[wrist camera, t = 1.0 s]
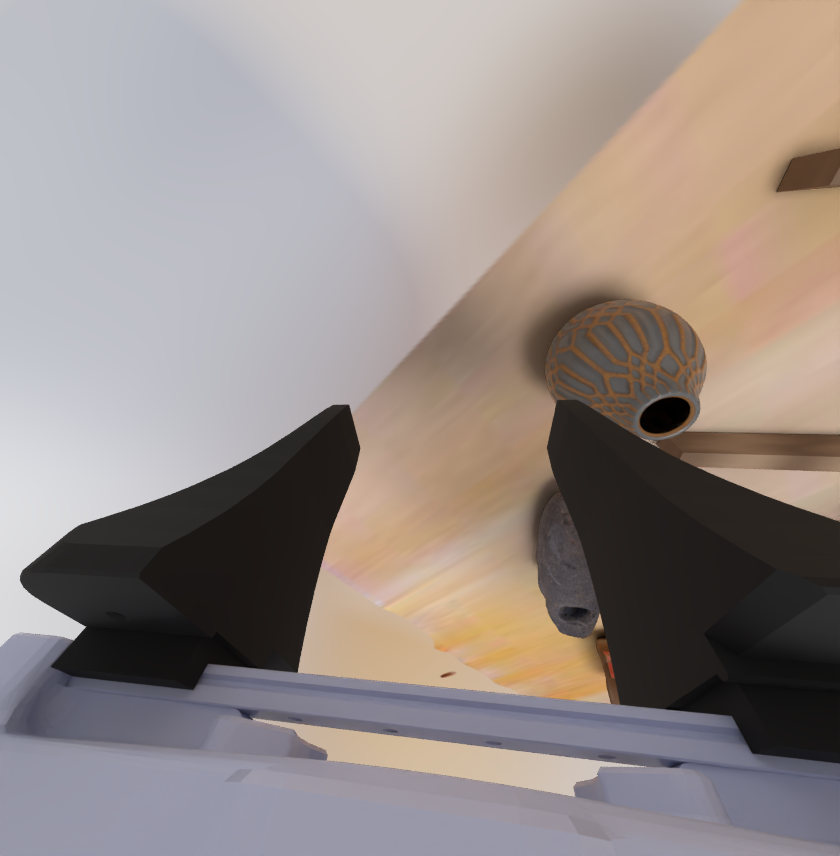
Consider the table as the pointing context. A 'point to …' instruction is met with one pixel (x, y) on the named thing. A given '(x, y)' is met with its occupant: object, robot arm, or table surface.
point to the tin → (608, 670)
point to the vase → (630, 366)
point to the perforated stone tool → (565, 572)
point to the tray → (770, 448)
